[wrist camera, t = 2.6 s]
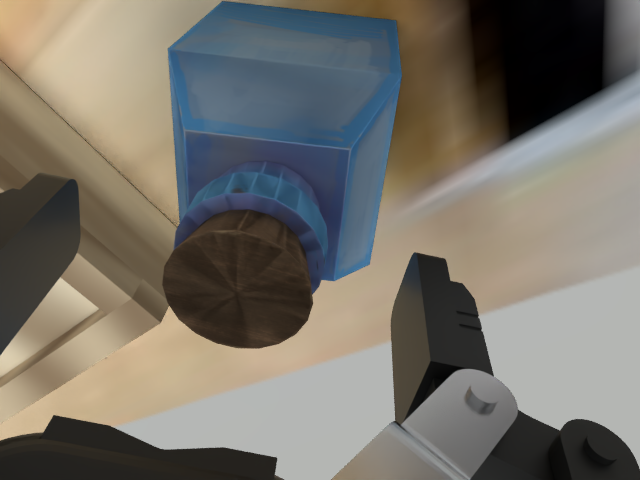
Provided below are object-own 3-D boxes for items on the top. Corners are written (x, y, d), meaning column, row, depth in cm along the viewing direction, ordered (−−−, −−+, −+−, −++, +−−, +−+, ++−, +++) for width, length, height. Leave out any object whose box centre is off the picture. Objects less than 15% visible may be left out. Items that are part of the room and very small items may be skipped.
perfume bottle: (224, 158, 23) (109, 376, 13) (222, 1, 20) (64, 138, 10) (371, 175, 23) (366, 409, 13) (396, 20, 20) (412, 179, 10)
